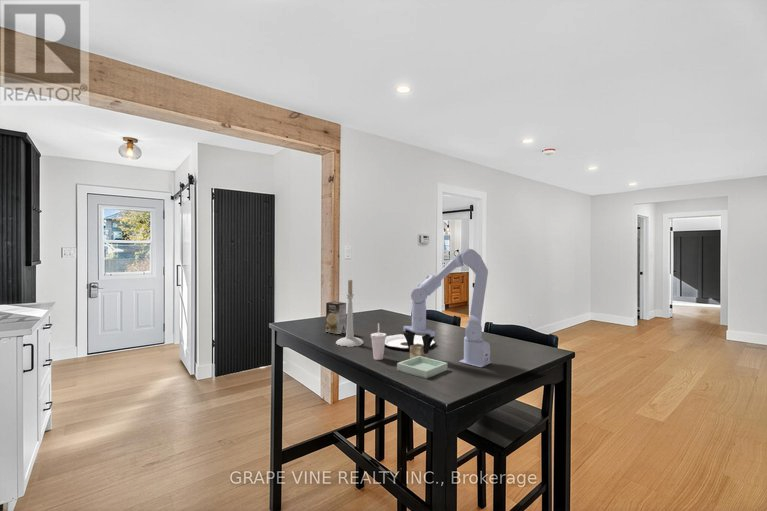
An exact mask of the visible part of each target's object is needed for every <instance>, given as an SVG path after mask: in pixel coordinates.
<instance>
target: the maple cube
mask: <svg viewBox="0 0 767 511" xmlns="http://www.w3.org/2000/svg"><path fill="white" fill-rule="evenodd" d="M417 356H422V357H426V358H428V353H427V354H424V345H422V344H414V345H411V346H410V350H409V359H411V358H414V357H417Z"/></svg>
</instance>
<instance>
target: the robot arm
mask: <svg viewBox="0 0 767 511" xmlns="http://www.w3.org/2000/svg"><path fill="white" fill-rule="evenodd" d="M464 265H466V266H467V267H469V268H470V269H471V271H472V272H473V273H474V275H475V277H474V284H473V292H472V299H471V305H470V311H469V318H468V322H467V323H466V325H465V330H464V337H463V359H460V360H459V363H462V364H466V365H470V366H474V367H478V368H483V367H486V366H488V365H489V364H491V363H492V361H491V345H490V343H489V342H487V341H485V340H484V337H483V336H482V335H483V331H482V330H483V326H482V317H483V309H484V303H485V298H486V297H485V296H486V289H487V284H488V282H487V281H488V275H489V269H488V268H487V265H486V263H485V262H484V260H483V258H482V256H481V255H480V254H479V253H478V252H477V251H476V250H475V249H472V248H467V249H464V250H463V251H462V252H461V253H459V254H458V255H456V256H455V257H453V258H452V259H451V260H449V262H448V263H446V265H444V267H442V268H441V269H440V270H439V271H438V272H437V273H436V274H430V275H427V276H426V277H425V278H426V279H425V280H424V281H423V282H421V283H419V284H417V288H414V289H413V290H412V291H411V294H410V298H411V300H412V303H411V304H412V305H411V325H403V327H402V328H403V329H402V331H403V333H402V335H404V336H405V338H406V341H407V342H406V343H407V346H408V348H409V351H410V346H411V345H414V336H415V335H416V334H419V335H421V336H422V339H423V345H424V354H427V355H428V353H429V350H430V347H431V346H432V345H431V342H432V340H433V341H434V338H435V336H436V331H435V330H432V329H429V328H427V305H426V304H427V301H426V300H427V298H428V296H429V297H430V296H431V295H432V294H433V293H434V292H436V290H438V289H439V288H440V287H441V286H442V281H443V280H444V279H445V278H446V277H447V276H449V274H451V273H452V272H453V271H454V270H456V268H461V267H464ZM430 345H431V346H430Z"/></svg>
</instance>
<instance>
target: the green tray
mask: <svg viewBox="0 0 767 511" xmlns="http://www.w3.org/2000/svg"><path fill="white" fill-rule="evenodd" d="M448 364H449V363H448V362H445V361H441V360H437V359H433V358H429V357H427V358H426V357H422V356H417V357H414V358H409V359H406V360H402V361H399V362H397V363H396V371H399V372H403V373H404V374H405V373H406V374H408V375H412V376H415V377H419V378H421V379H426V380H427V379H429V378H432V377H435V376H437V375H439V374H442V373H443V372H447V371H448Z"/></svg>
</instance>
